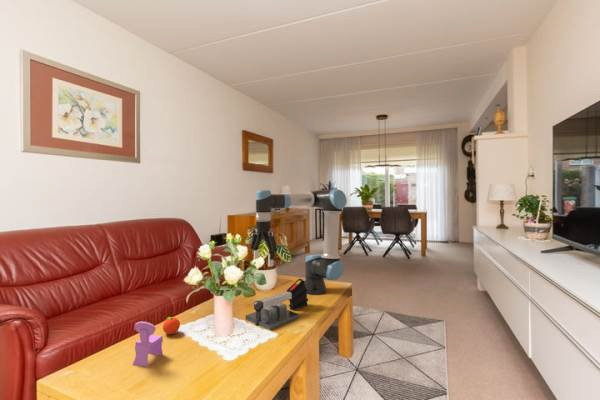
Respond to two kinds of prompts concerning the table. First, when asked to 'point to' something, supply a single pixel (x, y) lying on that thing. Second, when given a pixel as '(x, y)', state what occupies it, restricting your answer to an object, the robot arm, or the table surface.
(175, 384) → the table surface
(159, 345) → the toy chair
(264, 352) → the table surface
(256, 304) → the swing arm
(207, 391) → the table surface
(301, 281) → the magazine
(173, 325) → the tomato
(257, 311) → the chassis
